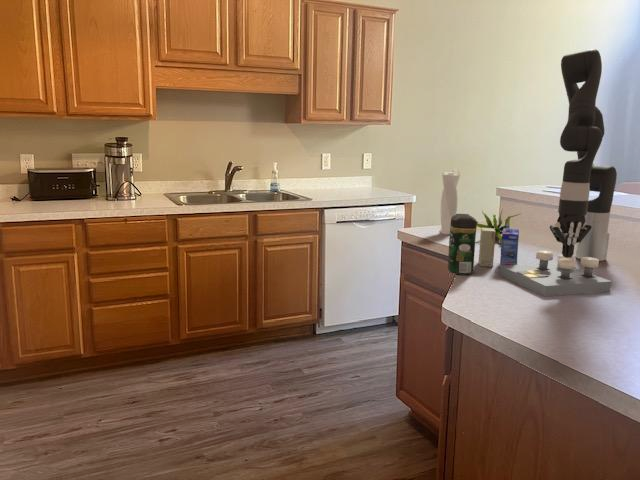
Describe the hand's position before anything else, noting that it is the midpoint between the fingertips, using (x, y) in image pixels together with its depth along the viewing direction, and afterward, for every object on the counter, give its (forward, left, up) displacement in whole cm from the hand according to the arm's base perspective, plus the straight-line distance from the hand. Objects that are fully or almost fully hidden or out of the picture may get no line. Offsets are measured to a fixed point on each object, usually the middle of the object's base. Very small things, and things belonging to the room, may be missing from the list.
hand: (567, 256), depth 162 cm
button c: (0, -10, -6) cm, 12 cm away
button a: (-8, -10, -8) cm, 15 cm away
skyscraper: (-5, -80, -10) cm, 80 cm away
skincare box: (+8, -29, -10) cm, 31 cm away
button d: (0, 0, -6) cm, 6 cm away
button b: (-8, 0, -6) cm, 10 cm away
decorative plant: (-15, -57, -10) cm, 60 cm away
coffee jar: (+21, -23, -10) cm, 33 cm away
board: (0, -5, -9) cm, 11 cm away
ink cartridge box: (+2, -25, -10) cm, 26 cm away
